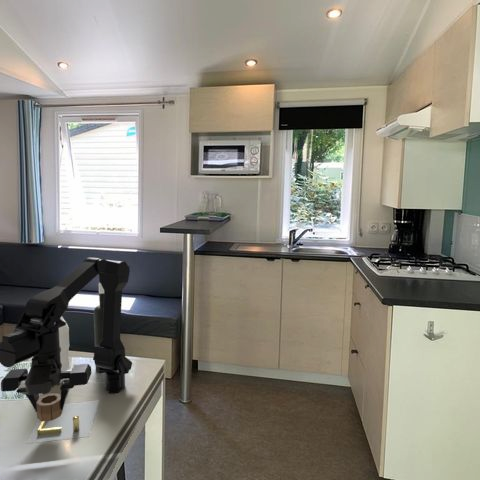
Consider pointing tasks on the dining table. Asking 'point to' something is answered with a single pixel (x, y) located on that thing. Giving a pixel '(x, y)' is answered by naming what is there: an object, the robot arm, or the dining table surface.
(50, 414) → the walnut ring
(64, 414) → the slate board
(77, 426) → the end peg
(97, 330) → the wine bottle
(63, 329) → the water bottle
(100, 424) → the dining table surface
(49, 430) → the bent rail
